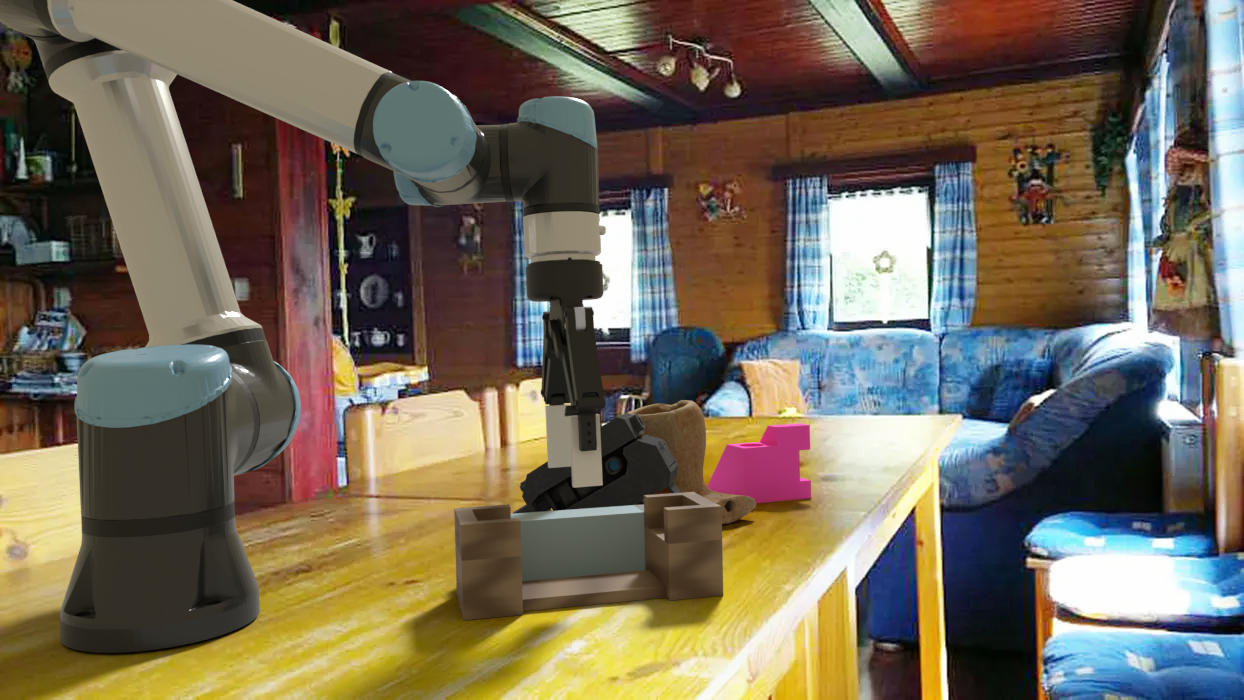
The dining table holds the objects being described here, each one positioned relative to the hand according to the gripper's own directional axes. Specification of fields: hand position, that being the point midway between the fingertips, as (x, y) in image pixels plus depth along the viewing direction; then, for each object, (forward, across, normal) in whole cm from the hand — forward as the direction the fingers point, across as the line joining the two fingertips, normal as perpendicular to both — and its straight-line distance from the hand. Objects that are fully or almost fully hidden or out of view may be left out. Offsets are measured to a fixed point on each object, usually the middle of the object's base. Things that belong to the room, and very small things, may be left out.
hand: (573, 476), depth 93 cm
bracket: (+10, +35, -33) cm, 49 cm away
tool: (+10, +13, -5) cm, 17 cm away
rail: (+10, 0, +1) cm, 10 cm away
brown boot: (+10, +21, -17) cm, 29 cm away
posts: (+10, -8, +1) cm, 13 cm away
